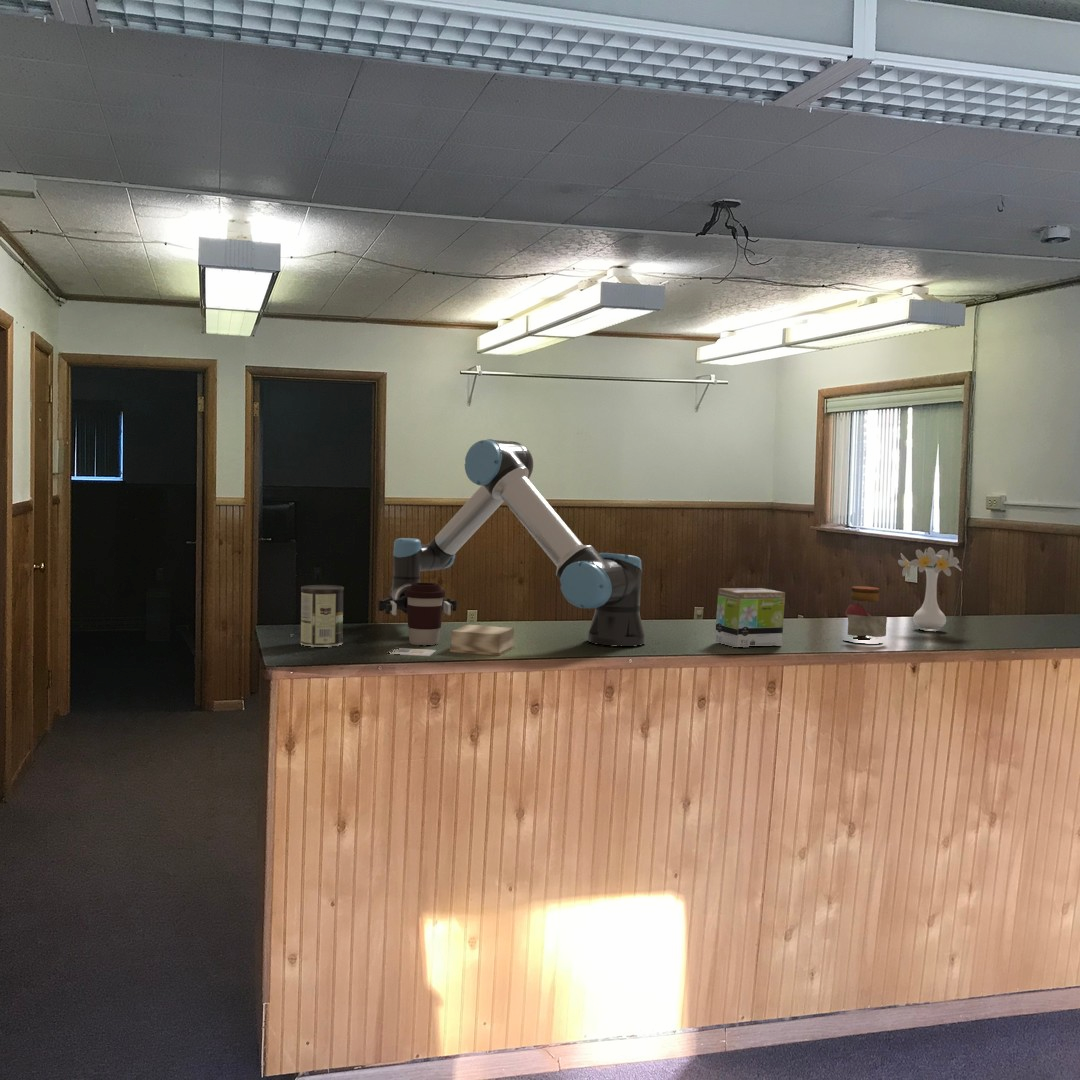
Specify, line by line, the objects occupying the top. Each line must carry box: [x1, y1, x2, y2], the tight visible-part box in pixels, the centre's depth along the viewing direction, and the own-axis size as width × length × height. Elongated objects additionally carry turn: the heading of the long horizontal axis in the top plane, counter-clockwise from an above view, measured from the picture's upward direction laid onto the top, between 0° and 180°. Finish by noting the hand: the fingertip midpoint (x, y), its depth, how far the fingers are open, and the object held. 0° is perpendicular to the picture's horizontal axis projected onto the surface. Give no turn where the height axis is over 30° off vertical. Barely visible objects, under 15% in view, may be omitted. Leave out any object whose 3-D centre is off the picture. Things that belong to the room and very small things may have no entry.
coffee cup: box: [405, 582, 446, 647], centre depth 268 cm, size 10×10×15 cm
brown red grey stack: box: [844, 585, 888, 640], centre depth 296 cm, size 12×13×15 cm
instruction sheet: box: [388, 647, 437, 657], centre depth 256 cm, size 10×8×1 cm
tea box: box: [714, 587, 786, 648], centre depth 284 cm, size 15×10×15 cm
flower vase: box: [897, 546, 962, 629], centre depth 322 cm, size 13×18×25 cm
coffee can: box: [300, 584, 345, 648], centre depth 262 cm, size 10×10×14 cm
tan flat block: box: [449, 624, 515, 657], centre depth 262 cm, size 12×12×5 cm
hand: (422, 609), depth 269 cm, fingers open, 13 cm apart
